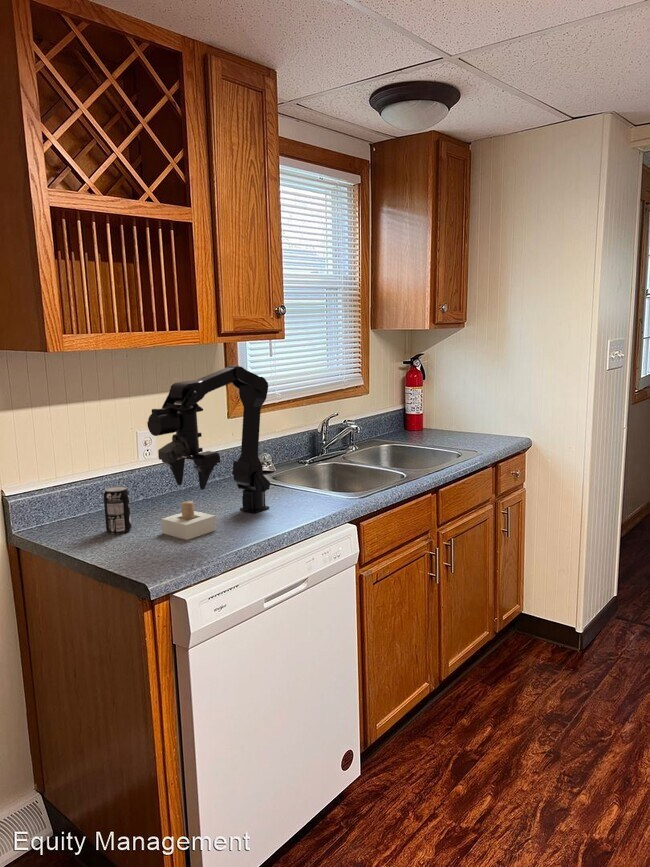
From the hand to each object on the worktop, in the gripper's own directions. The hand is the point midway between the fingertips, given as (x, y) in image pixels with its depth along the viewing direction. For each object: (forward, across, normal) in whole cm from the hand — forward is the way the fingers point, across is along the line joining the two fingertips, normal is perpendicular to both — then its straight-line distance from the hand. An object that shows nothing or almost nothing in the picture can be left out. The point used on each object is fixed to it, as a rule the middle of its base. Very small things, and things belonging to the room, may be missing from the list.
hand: (190, 487), depth 180 cm
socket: (+12, +1, -2) cm, 12 cm away
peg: (+12, +1, -2) cm, 12 cm away
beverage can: (+12, -16, -13) cm, 23 cm away
